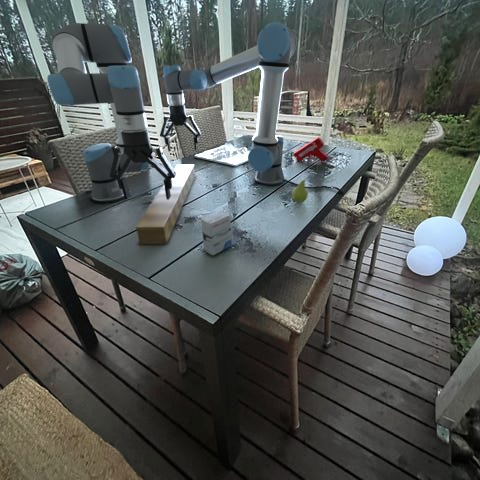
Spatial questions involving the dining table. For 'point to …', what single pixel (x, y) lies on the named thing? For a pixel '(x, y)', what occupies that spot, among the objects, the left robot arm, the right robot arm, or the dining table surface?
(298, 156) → the toy gun
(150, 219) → the slab
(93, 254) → the dining table surface
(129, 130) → the left robot arm
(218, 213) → the ink box
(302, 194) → the fruit
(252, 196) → the dining table surface
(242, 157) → the relief map
